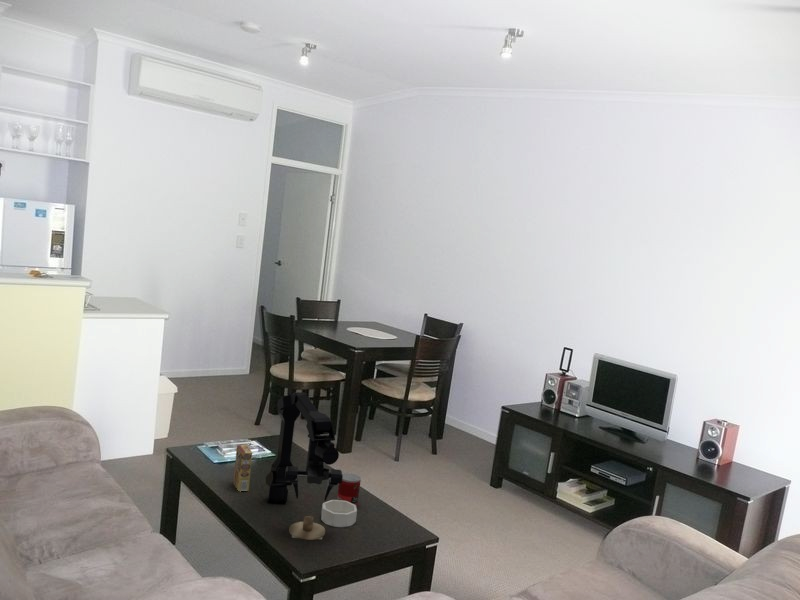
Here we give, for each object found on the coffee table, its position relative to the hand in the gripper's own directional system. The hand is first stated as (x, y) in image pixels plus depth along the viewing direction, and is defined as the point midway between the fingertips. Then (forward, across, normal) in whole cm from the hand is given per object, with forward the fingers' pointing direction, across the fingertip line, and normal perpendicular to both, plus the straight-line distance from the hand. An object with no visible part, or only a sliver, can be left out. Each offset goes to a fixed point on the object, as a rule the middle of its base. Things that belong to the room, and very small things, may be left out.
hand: (311, 499), depth 227 cm
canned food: (+12, +15, +25) cm, 31 cm away
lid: (+11, 0, 0) cm, 11 cm away
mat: (+12, 0, 0) cm, 12 cm away
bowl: (+12, +11, +11) cm, 19 cm away
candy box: (+12, -25, +35) cm, 45 cm away
